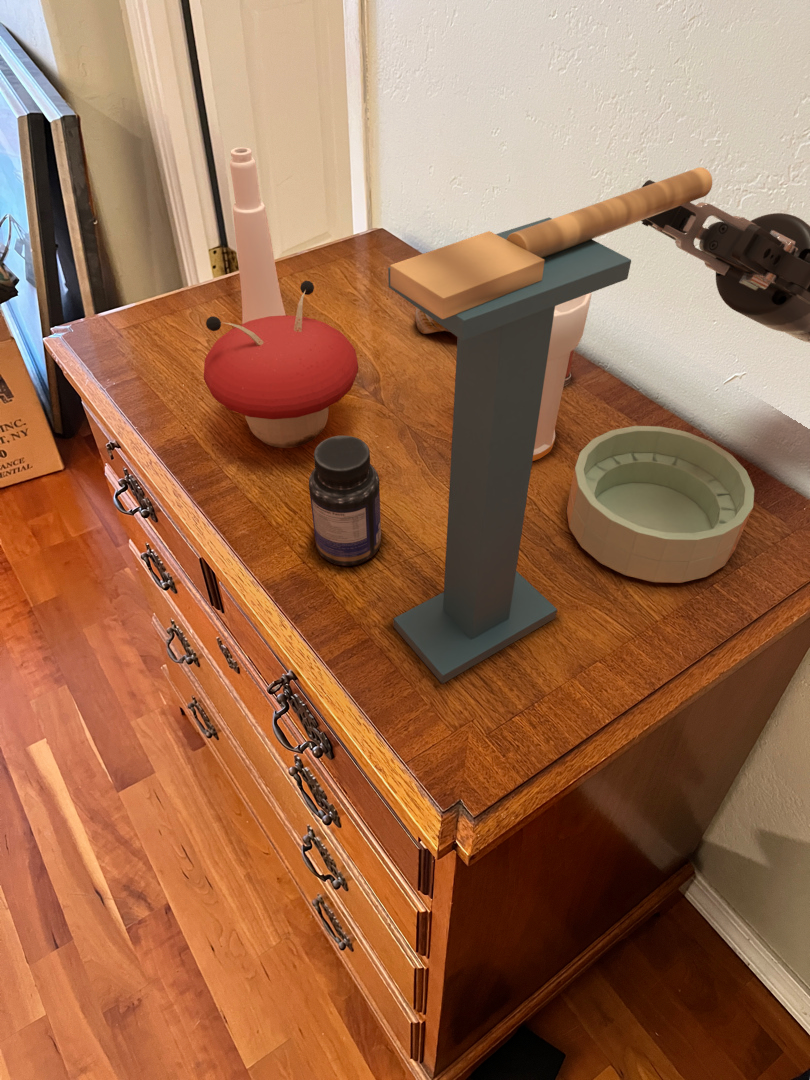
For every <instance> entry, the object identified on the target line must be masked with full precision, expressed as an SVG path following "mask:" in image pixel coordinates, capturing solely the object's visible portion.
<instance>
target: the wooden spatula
mask: <svg viewBox="0 0 810 1080" xmlns="http://www.w3.org/2000/svg"><path fill="white" fill-rule="evenodd" d="M655 182H656V183H653V184H650V185H647V186H644V187H642V186H641V187H642V188H641V187H639V188H635V189H633V190H631V191H628V192H624V193H622V194H619V195H616V196H613V197H611V198H608V199H605V200H602V201H600V202H597V203H594V204H591V205H588V206H584V207H582V208H580V209H577V210H576V209H575V210H574V211H571V212H568V213H565V214H563V215H560V216H556V217H554V218H552V219H551V220H548V221H545V222H542V223H539V224H537V225H534V226H531V227H528V228H525V229H522V230H520V231H517V232H514V233H511V234H510V235H509V236H508V237H507V239H504V238H502V237H500V236H498V235H496V234H497V233H494V232H492V231H490V230H489V231H485V232H483V233H479V234H476V235H473V236H470V237H468V238H465V239H462V240H459V241H456V242H453V243H451V244H448V245H444V246H442V247H439V248H436V249H432V250H430V251H427V252H424V253H421V254H419V255H416V256H413V257H409V258H407V259H404V260H401V261H399V262H395V263H392V264H390V265H389V267H390V285H391V286H392V287H393V288H395V289H396V290H398V291H399V292H401V293H402V294H404V295H406V296H407V297H409V298H410V299H412V300H413V301H415V302H416V303H418V304H419V305H421V306H422V307H424V308H426V309H427V310H429V311H430V312H432V313H433V314H435V315H436V316H438V317H439V318H441V319H445V318H448V317H450V316H453V315H455V314H458V313H461V312H463V311H466V310H468V309H471V308H473V307H476V306H478V305H481V304H483V303H486V302H488V301H491V300H493V299H496V298H498V297H501V296H504V295H506V294H509V293H511V292H514V291H516V290H519V289H521V288H524V287H526V286H529V285H531V284H534V283H536V282H539V281H541V280H542V277H543V269H544V261H545V260H544V259H542V258H543V257H546V256H549V255H551V254H554V253H557V252H559V251H562V250H564V249H567V248H570V247H572V246H575V245H578V244H580V243H583V242H586V241H588V240H591V239H592V240H594V239H596V238H598V237H601V236H604V235H606V234H609V233H611V232H615V231H617V230H620V229H623V228H625V227H628V226H631V225H633V224H636V223H639V222H642V221H641V220H644V219H646V218H649V217H652V216H654V215H657V214H660V213H662V212H665V211H668V210H670V209H673V208H675V207H678V206H681V205H683V204H686V203H689V202H690V203H692V202H694V201H697V200H699V199H701V198H704V197H706V196H708V195H709V193H710V192H711V190H712V188H713V177H712V174H711V172H710V171H709V170H708V169H707V168H705V167H701V166H700V167H696V168H693V169H690V170H687V171H684V172H682V173H679V174H676V175H673V176H671V177H667V178H665V179H662V180H658V181H655Z"/></svg>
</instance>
